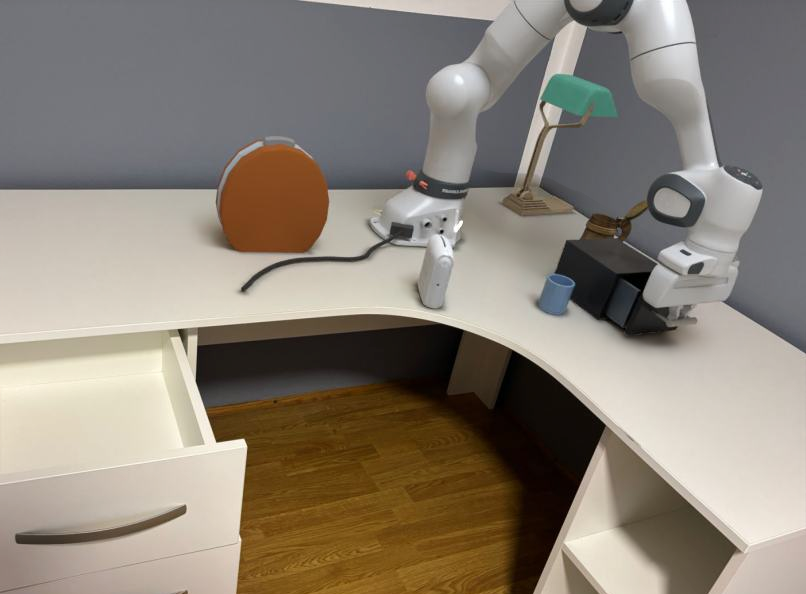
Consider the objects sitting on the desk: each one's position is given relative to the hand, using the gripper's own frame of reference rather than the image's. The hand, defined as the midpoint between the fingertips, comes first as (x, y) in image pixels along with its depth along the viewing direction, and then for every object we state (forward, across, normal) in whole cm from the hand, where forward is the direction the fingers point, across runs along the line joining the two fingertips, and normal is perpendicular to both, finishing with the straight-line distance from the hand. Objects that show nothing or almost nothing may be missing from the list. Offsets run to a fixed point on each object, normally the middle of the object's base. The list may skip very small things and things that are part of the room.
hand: (674, 321), depth 136 cm
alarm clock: (+5, +65, -52) cm, 83 cm away
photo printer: (+6, +40, -25) cm, 48 cm away
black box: (+5, 0, -19) cm, 20 cm away
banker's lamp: (+5, -22, -69) cm, 72 cm away
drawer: (+5, 0, -8) cm, 9 cm away
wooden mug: (+6, -14, -35) cm, 38 cm away
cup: (+5, +15, -17) cm, 23 cm away
